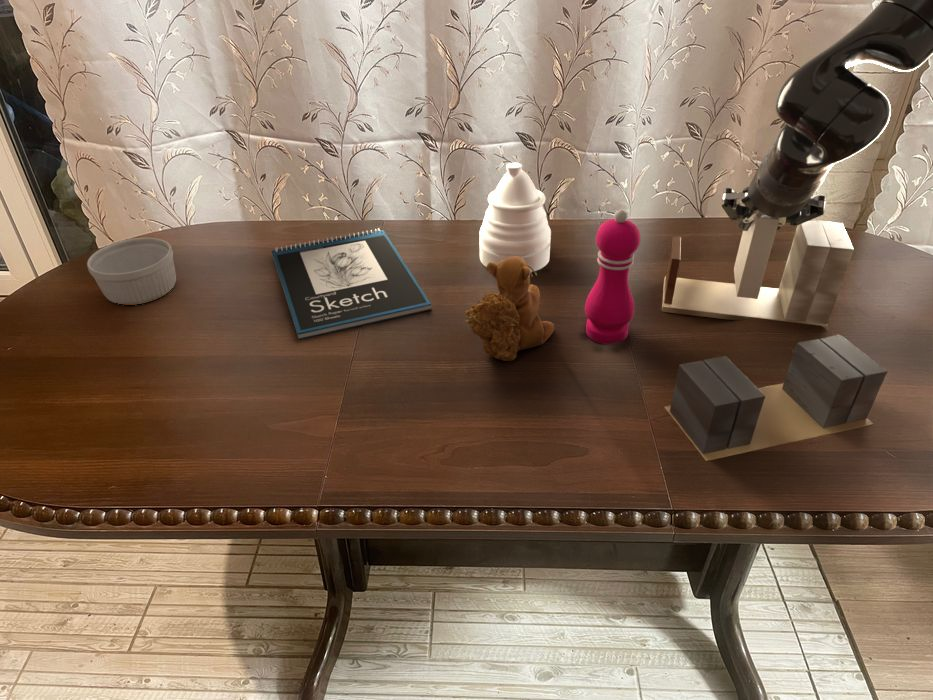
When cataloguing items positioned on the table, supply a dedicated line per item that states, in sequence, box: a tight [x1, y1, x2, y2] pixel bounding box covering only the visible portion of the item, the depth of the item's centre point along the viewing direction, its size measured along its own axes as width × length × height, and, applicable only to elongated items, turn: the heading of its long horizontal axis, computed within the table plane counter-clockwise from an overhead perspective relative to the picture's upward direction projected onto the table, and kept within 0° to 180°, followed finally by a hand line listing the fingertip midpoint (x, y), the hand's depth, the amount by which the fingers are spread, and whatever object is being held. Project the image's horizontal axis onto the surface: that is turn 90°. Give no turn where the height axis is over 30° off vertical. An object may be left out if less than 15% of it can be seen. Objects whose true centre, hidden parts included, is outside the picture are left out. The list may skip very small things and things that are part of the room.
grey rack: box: [664, 334, 888, 462], centre depth 80 cm, size 23×10×8 cm, turn 104°
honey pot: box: [478, 162, 552, 273], centre depth 115 cm, size 13×13×18 cm
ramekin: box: [86, 237, 177, 305], centre depth 111 cm, size 13×13×7 cm
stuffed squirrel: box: [464, 256, 555, 362], centre depth 94 cm, size 10×14×13 cm
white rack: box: [661, 219, 855, 330], centre depth 101 cm, size 24×10×14 cm, turn 74°
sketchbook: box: [271, 227, 433, 340], centre depth 114 cm, size 22×30×2 cm
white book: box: [733, 215, 779, 299], centre depth 99 cm, size 3×9×13 cm, turn 164°
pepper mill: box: [584, 209, 641, 345], centre depth 94 cm, size 7×7×20 cm
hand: (757, 225), depth 99 cm, fingers closed on white book, 3 cm apart
